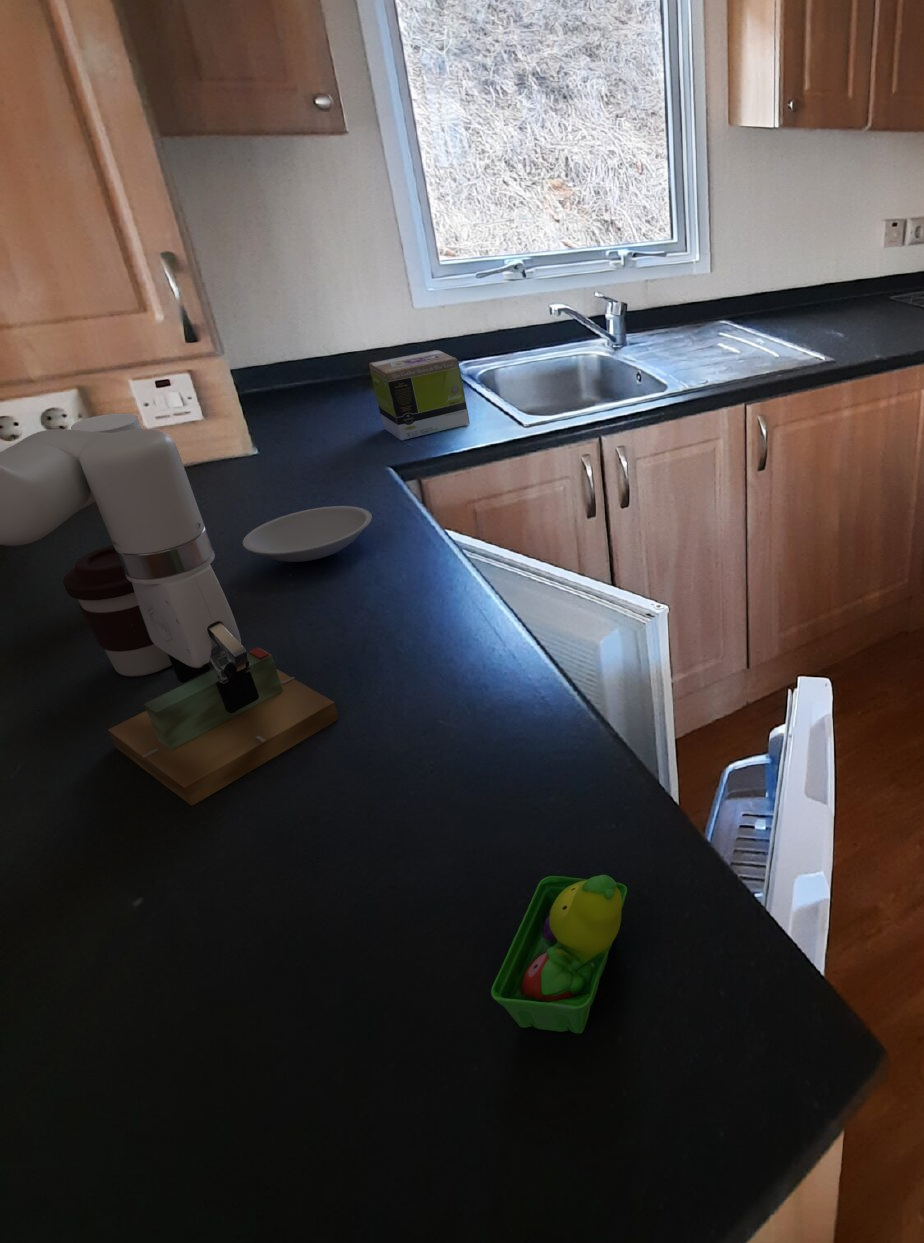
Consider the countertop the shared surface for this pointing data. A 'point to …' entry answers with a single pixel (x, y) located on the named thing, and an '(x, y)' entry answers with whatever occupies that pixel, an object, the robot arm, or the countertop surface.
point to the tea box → (419, 394)
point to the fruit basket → (560, 952)
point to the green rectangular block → (206, 702)
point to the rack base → (227, 741)
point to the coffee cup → (114, 613)
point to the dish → (308, 533)
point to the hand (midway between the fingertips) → (218, 690)
